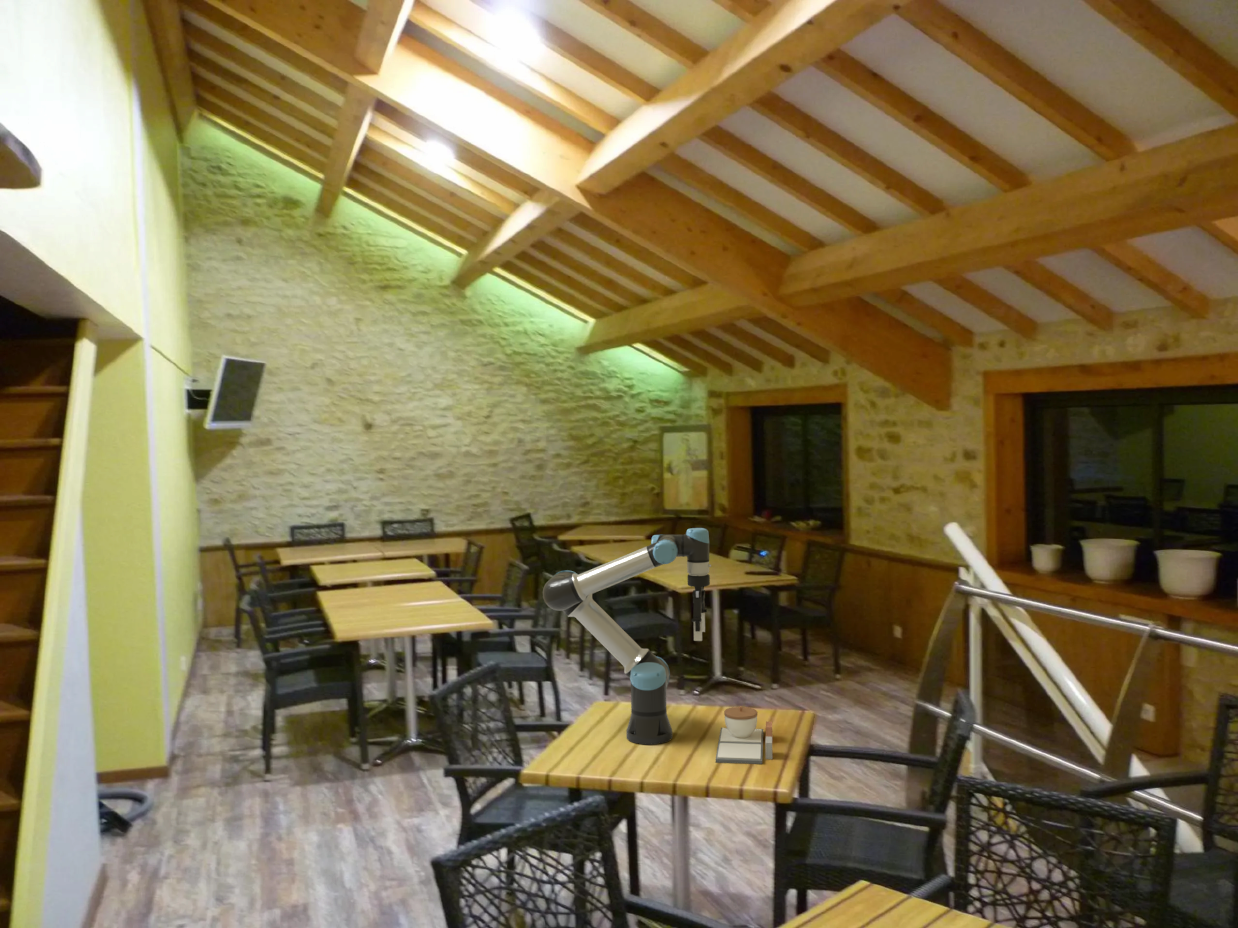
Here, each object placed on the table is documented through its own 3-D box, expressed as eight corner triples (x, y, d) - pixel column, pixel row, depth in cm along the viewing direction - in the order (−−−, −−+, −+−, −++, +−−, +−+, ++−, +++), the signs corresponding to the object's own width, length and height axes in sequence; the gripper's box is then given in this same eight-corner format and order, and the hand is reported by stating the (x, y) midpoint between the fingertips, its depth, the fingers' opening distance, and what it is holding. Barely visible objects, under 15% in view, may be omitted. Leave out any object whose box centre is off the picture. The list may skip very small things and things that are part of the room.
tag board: (715, 762, 289) (715, 746, 289) (721, 730, 319) (720, 715, 319) (772, 764, 286) (772, 747, 286) (772, 732, 316) (772, 717, 316)
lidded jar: (720, 738, 307) (720, 709, 307) (729, 728, 317) (728, 700, 317) (753, 741, 303) (753, 712, 303) (761, 731, 313) (760, 703, 313)
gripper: (707, 580, 310) (708, 644, 311) (712, 568, 334) (713, 628, 335) (684, 579, 311) (685, 644, 312) (690, 568, 335) (691, 627, 336)
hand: (699, 636), depth 323 cm, fingers open, 13 cm apart
